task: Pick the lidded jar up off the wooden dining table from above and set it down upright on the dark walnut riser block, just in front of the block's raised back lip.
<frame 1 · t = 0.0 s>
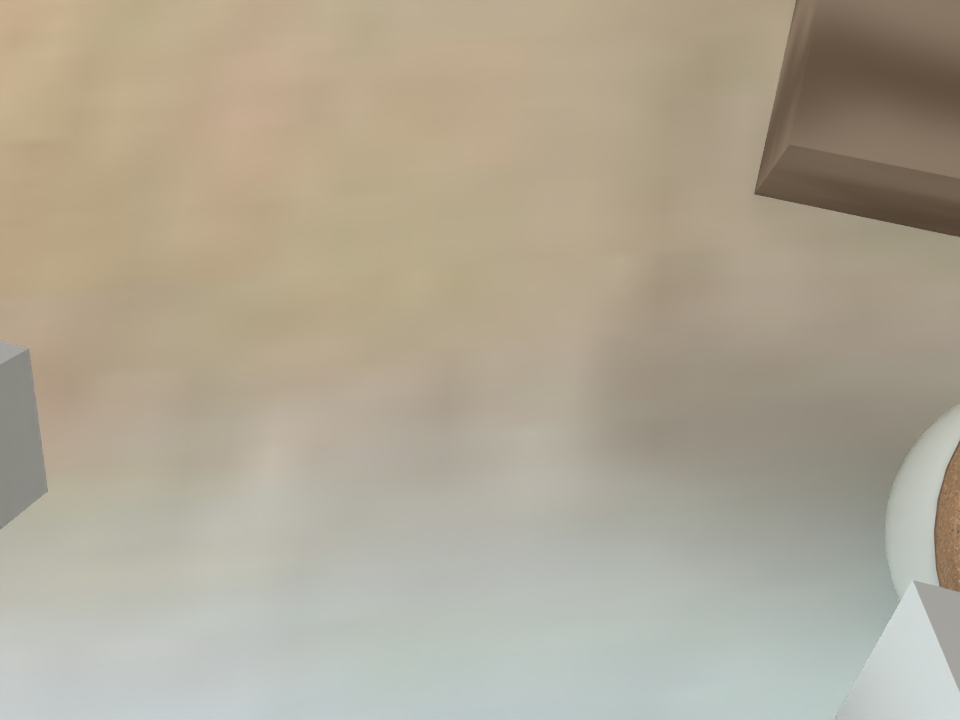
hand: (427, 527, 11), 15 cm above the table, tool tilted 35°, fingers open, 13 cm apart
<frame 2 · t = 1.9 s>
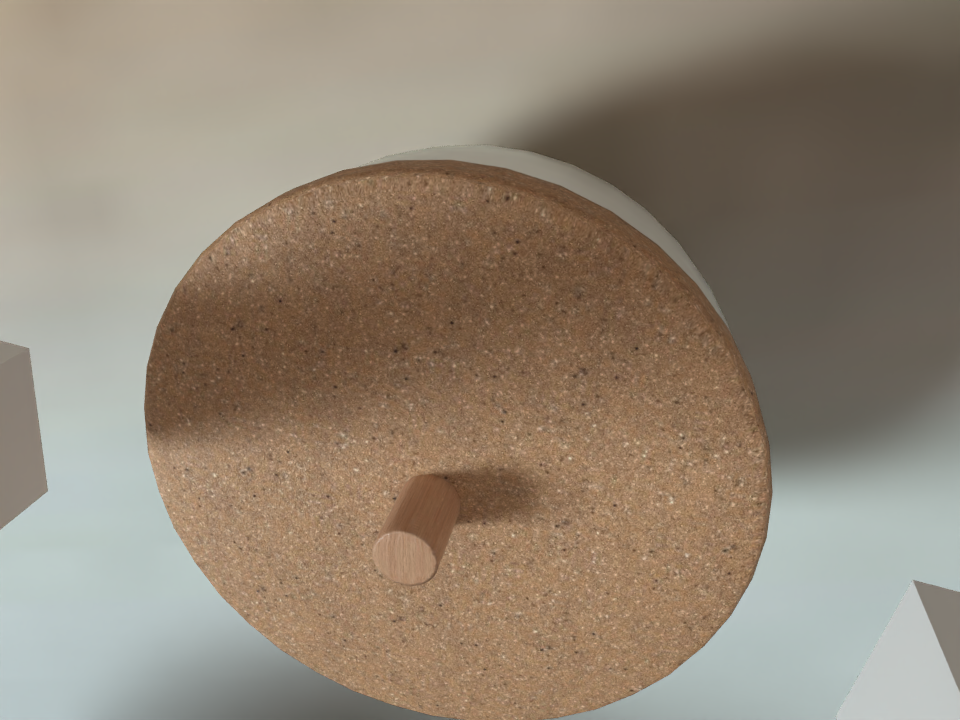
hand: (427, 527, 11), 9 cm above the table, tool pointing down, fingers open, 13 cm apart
lidded jar: (511, 319, 20), on the table
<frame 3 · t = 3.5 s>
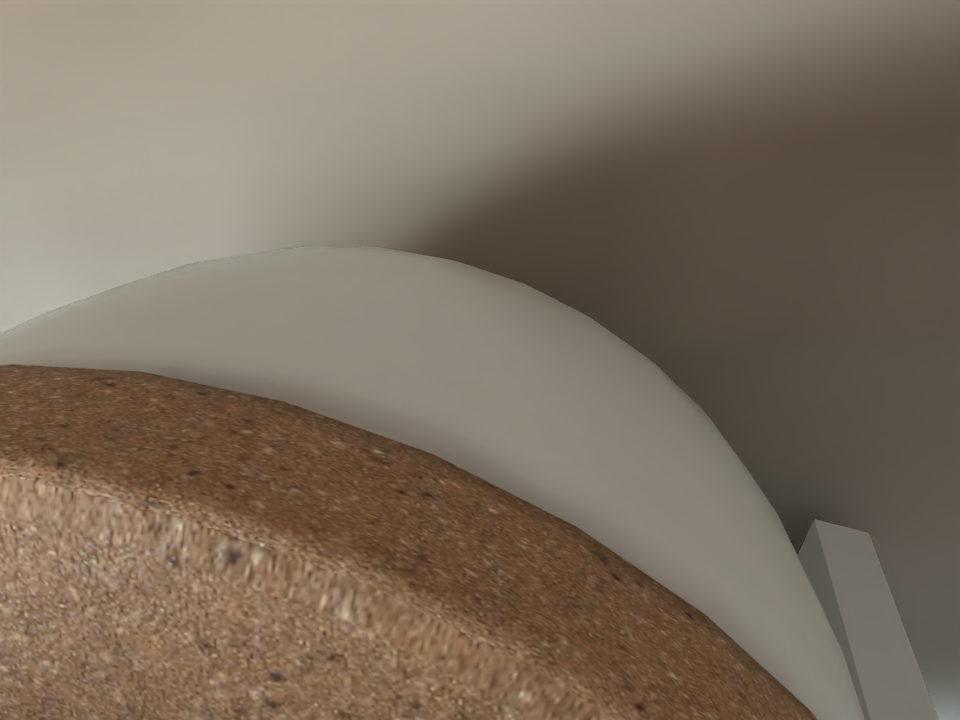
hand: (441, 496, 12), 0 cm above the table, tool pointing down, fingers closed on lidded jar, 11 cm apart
lidded jar: (450, 473, 13), on the table, touching gripper
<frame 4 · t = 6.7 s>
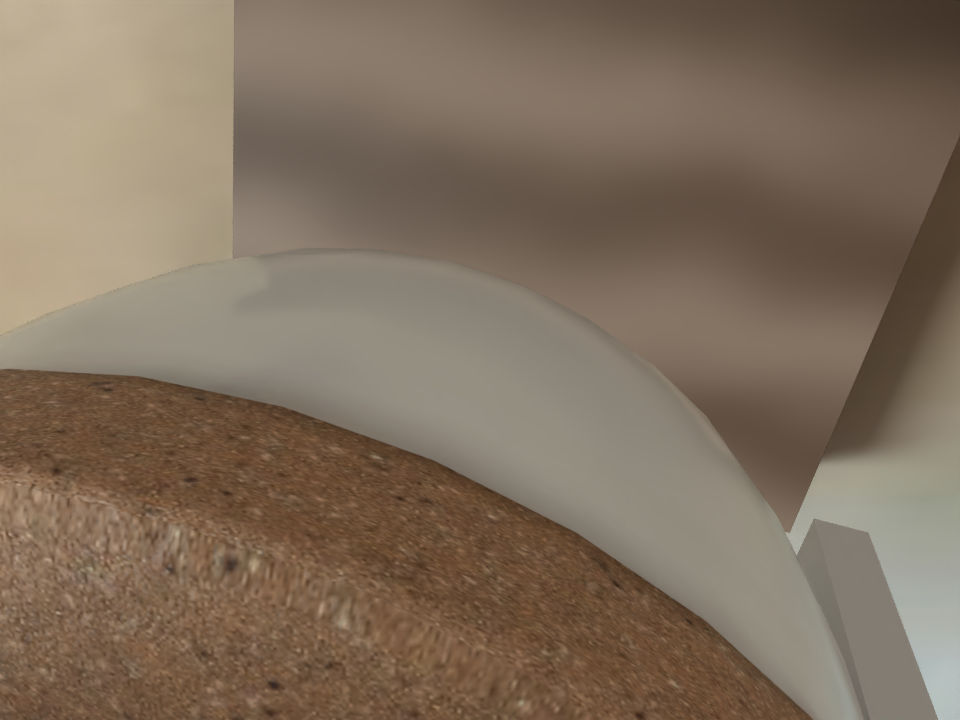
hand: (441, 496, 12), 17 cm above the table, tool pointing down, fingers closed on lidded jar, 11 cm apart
lidded jar: (450, 475, 13), point 16 cm above the table, touching gripper
riser block: (562, 181, 26), on the table
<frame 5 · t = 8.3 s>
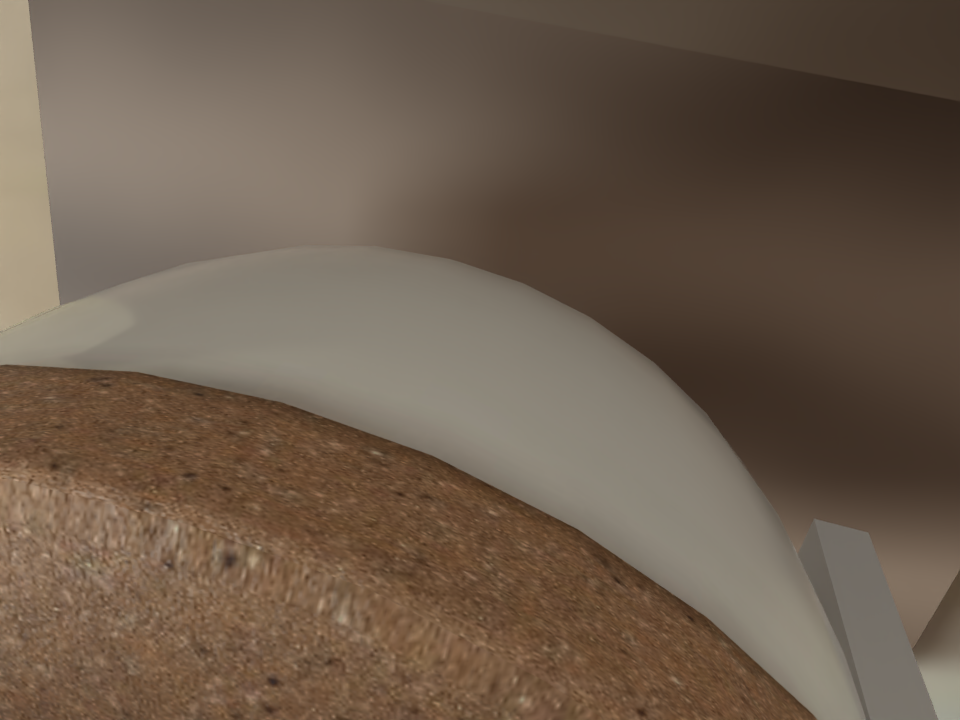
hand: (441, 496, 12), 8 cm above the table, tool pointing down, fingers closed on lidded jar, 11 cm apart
lidded jar: (450, 473, 13), point 8 cm above the table, touching gripper
riser block: (523, 310, 19), on the table
when the fingers open (6 cm above the table, at t = 9.7 s): lidded jar drops 2 cm, resting on riser block.
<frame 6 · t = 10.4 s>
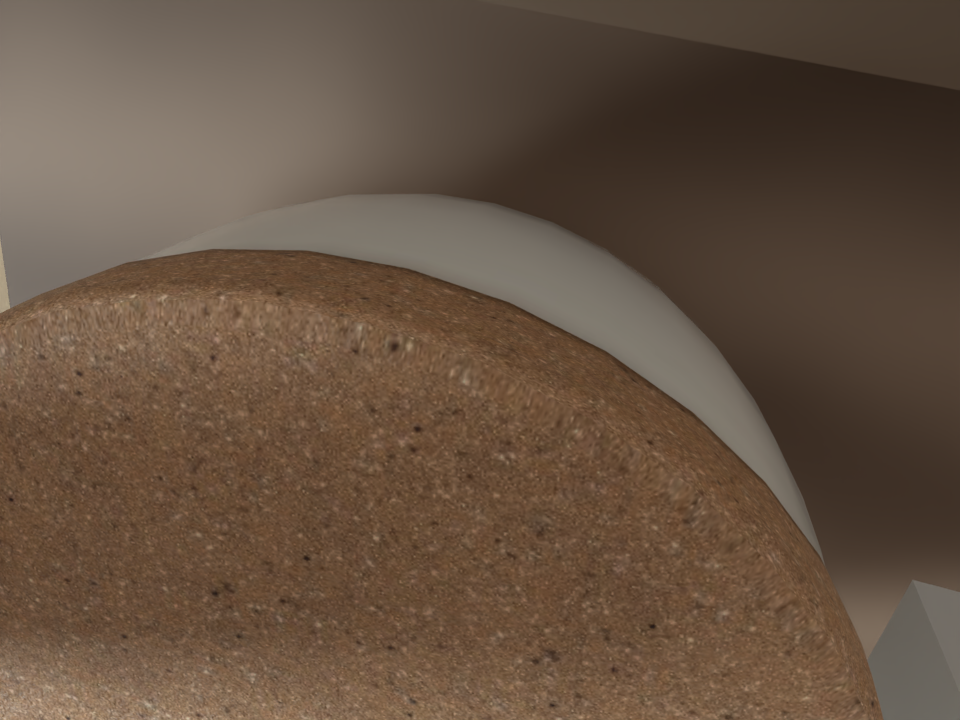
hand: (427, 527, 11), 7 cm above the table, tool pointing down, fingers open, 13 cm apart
lidded jar: (479, 407, 15), point 4 cm above the table, touching riser block
riser block: (517, 325, 18), on the table
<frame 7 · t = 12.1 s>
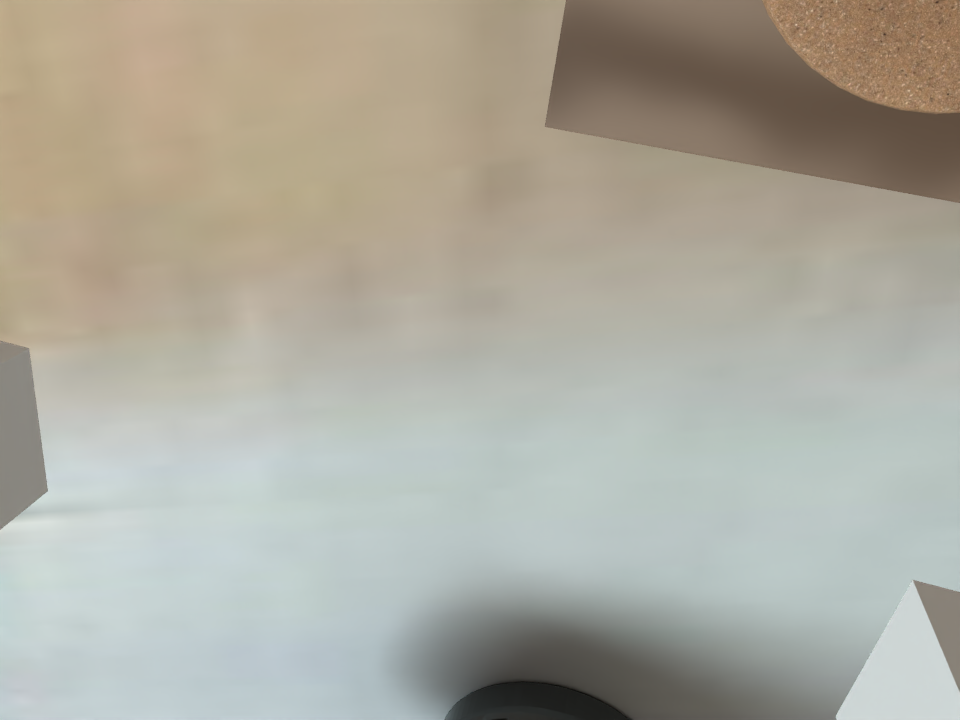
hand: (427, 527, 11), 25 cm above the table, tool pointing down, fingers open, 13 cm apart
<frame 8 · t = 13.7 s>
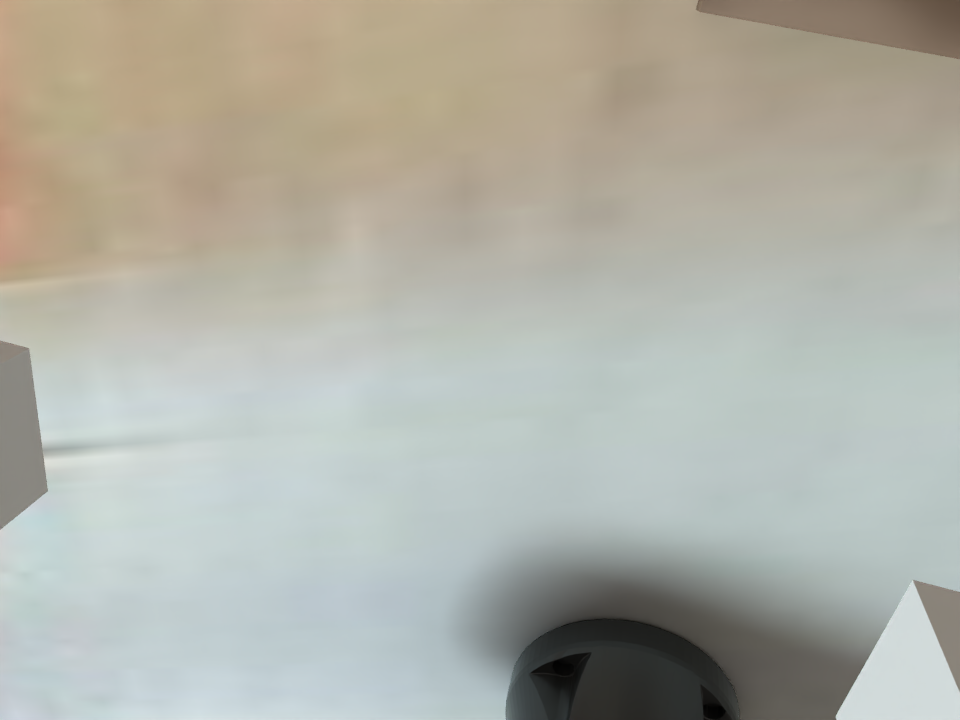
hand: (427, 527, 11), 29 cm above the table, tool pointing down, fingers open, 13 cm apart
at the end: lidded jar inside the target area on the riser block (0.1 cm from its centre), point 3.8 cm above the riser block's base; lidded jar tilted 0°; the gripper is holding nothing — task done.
